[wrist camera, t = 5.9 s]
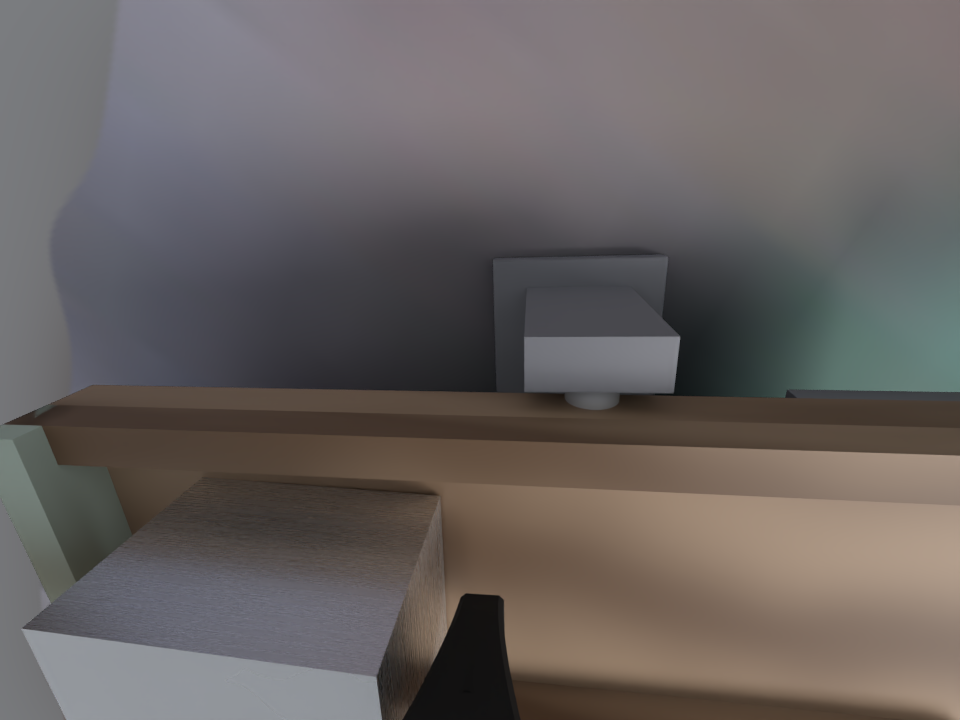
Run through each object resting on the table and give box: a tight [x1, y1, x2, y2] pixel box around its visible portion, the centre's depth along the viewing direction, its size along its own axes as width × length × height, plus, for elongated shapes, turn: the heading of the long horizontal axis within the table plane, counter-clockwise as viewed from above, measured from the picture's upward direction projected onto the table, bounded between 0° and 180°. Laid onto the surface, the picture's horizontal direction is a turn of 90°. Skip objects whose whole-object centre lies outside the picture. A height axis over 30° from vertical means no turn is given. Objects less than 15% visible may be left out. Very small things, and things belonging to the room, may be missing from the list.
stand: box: [493, 254, 680, 395], centre depth 14 cm, size 14×5×6 cm, turn 2°
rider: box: [22, 477, 447, 720], centre depth 10 cm, size 5×6×4 cm
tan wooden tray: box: [0, 385, 960, 720], centre depth 12 cm, size 10×22×4 cm, turn 92°
